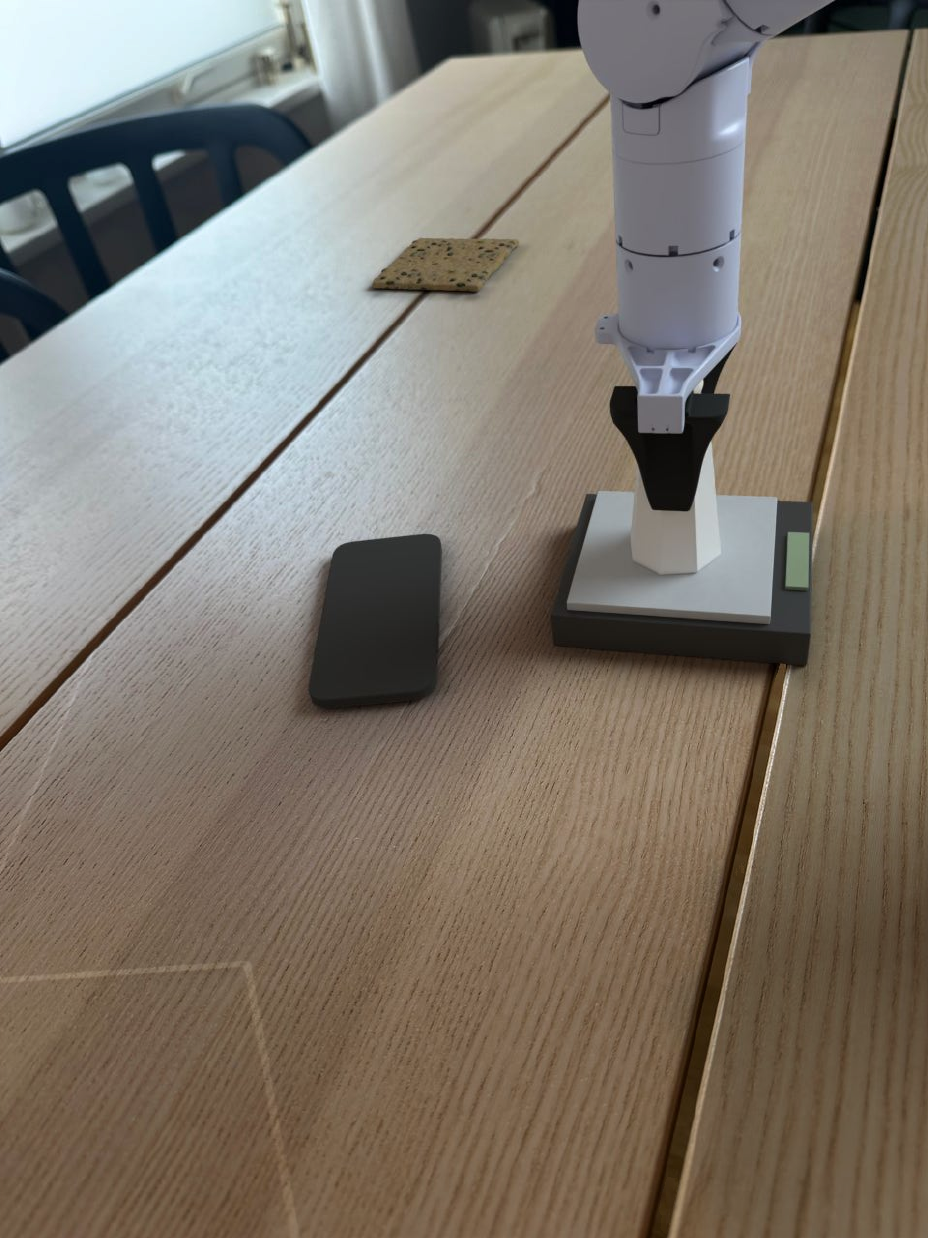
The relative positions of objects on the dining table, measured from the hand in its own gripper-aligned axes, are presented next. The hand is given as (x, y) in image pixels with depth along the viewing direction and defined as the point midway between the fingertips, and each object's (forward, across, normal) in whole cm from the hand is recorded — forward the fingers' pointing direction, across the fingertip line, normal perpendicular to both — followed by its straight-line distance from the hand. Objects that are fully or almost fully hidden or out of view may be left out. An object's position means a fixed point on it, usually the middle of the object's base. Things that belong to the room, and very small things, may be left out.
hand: (676, 478), depth 54 cm
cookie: (+8, -49, -28) cm, 57 cm away
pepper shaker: (+5, 0, 0) cm, 5 cm away
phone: (+8, +5, -17) cm, 20 cm away
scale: (+8, 0, +1) cm, 8 cm away
